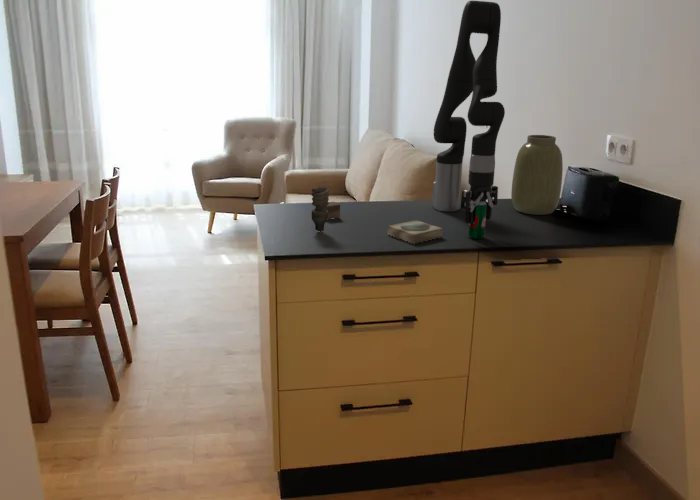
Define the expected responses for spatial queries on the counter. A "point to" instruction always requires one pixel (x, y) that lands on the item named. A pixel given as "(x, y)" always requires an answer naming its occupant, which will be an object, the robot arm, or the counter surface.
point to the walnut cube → (333, 210)
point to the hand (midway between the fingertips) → (477, 221)
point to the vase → (537, 176)
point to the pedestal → (414, 231)
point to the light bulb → (320, 207)
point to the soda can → (478, 221)
